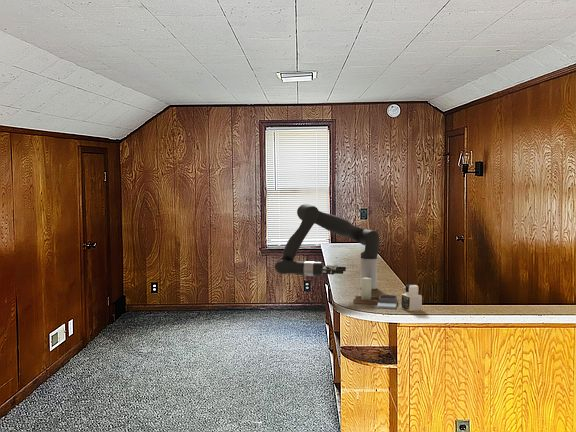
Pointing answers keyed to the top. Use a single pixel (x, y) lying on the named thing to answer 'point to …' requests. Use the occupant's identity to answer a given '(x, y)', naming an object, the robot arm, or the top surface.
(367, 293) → the sage canister
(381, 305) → the slate-blue platform
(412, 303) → the medicine bottle
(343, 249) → the top surface
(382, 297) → the charcoal pit
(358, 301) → the walnut channel
